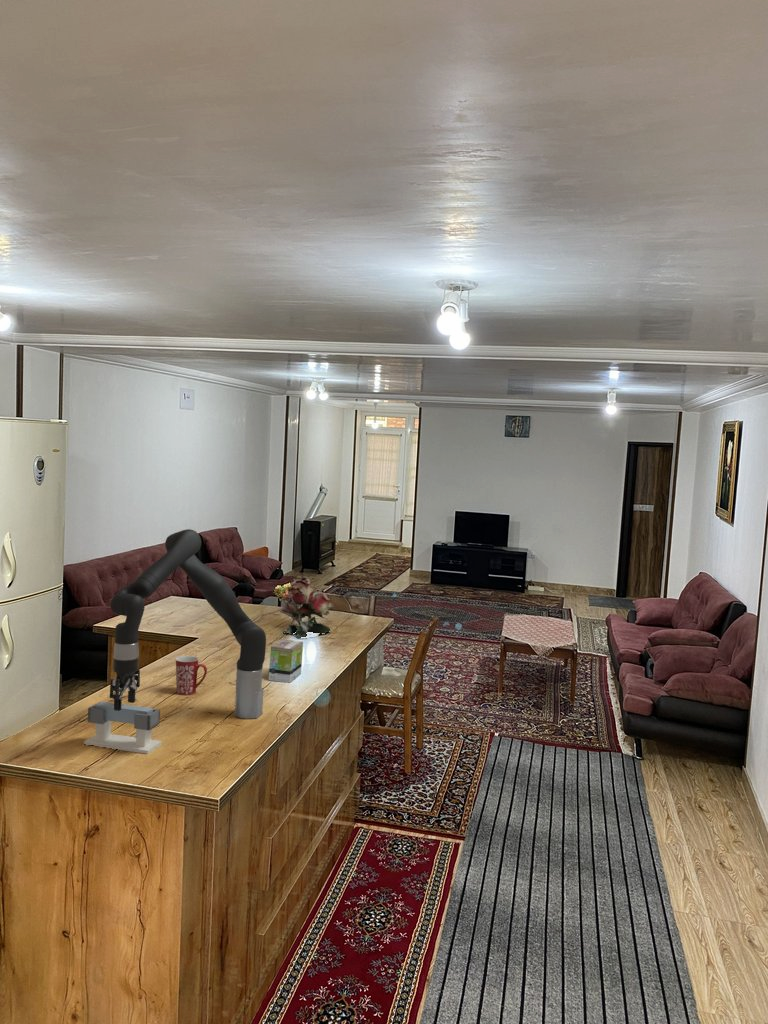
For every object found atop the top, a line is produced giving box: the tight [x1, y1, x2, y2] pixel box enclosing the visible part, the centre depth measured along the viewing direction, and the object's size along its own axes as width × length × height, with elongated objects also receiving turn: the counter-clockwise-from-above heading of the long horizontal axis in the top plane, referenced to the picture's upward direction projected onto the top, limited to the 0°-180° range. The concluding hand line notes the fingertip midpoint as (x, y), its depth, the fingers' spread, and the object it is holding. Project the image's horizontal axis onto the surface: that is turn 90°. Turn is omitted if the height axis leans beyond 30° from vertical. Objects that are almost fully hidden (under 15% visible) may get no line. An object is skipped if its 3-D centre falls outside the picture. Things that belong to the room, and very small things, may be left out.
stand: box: [83, 701, 162, 755], centre depth 254 cm, size 22×9×12 cm, turn 78°
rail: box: [94, 701, 154, 725], centre depth 254 cm, size 18×4×4 cm, turn 78°
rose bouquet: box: [279, 575, 334, 639], centre depth 426 cm, size 26×29×30 cm
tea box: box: [268, 639, 304, 683], centre depth 339 cm, size 15×10×15 cm
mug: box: [174, 655, 208, 696], centre depth 311 cm, size 13×9×14 cm
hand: (124, 706), depth 254 cm, fingers open, 8 cm apart
